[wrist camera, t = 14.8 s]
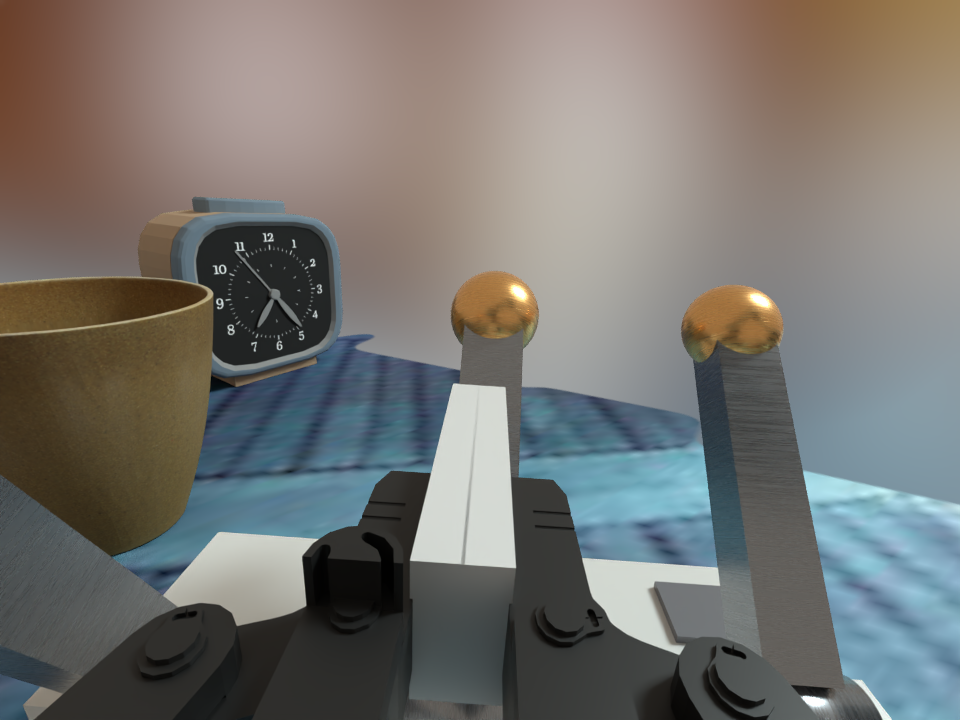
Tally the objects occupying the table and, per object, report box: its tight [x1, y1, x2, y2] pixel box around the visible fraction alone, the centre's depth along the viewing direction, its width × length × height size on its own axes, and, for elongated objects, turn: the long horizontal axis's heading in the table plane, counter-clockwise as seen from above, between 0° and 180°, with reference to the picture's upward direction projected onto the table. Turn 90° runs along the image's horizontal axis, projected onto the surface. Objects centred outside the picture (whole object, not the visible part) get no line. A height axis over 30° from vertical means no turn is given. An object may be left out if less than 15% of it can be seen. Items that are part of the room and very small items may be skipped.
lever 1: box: [0, 475, 178, 694], centre depth 8 cm, size 3×3×14 cm
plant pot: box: [0, 277, 213, 556], centre depth 28 cm, size 15×15×16 cm
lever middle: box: [403, 271, 539, 720], centre depth 14 cm, size 3×3×14 cm
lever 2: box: [681, 285, 883, 720], centre depth 14 cm, size 3×3×14 cm
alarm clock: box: [138, 197, 343, 387], centre depth 57 cm, size 21×10×22 cm, turn 146°
